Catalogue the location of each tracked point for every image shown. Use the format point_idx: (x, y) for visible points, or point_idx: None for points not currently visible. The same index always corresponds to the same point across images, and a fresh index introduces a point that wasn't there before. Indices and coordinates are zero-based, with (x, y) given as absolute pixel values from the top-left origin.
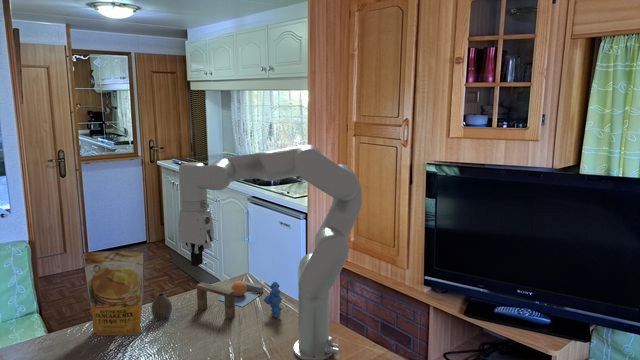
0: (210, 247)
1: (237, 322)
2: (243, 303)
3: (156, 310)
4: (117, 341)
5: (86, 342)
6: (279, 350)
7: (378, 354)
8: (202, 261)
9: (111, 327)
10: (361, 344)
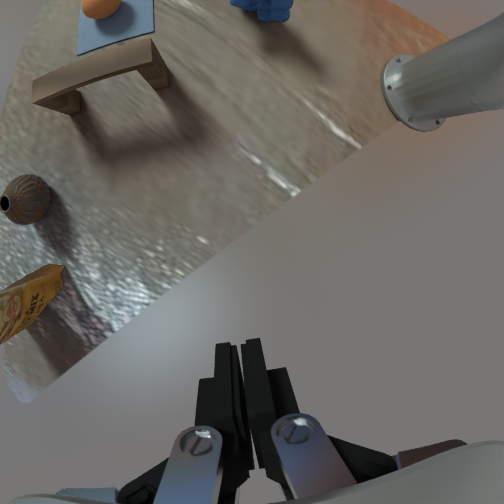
0: (457, 445)
1: (198, 83)
2: (143, 21)
3: (32, 221)
4: (66, 313)
5: (41, 342)
6: (368, 123)
7: None
8: (260, 344)
9: (36, 317)
10: None
